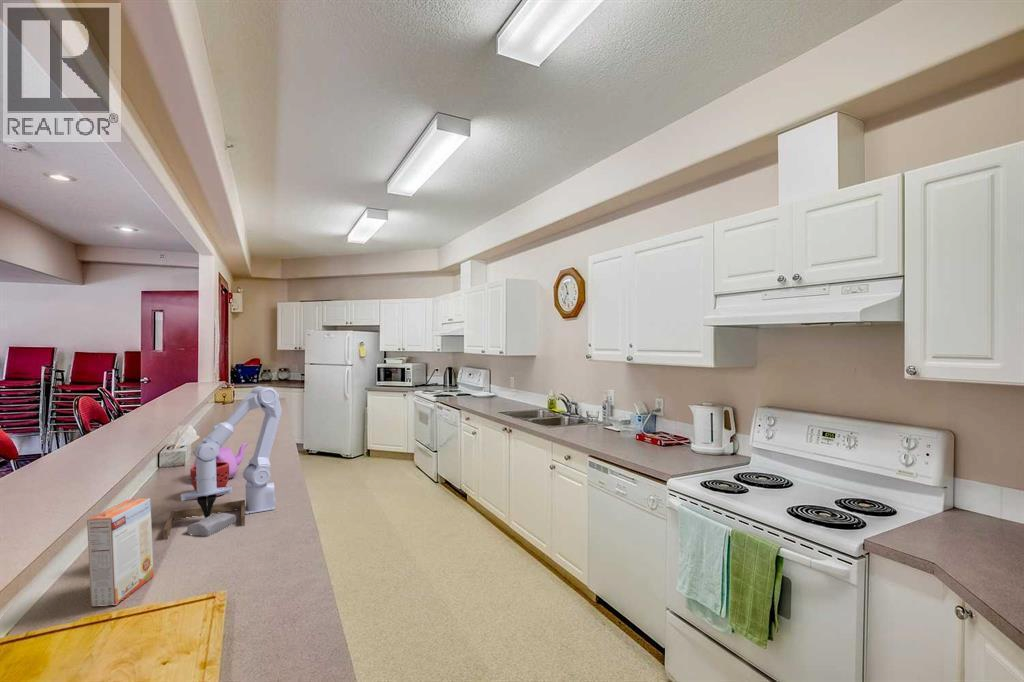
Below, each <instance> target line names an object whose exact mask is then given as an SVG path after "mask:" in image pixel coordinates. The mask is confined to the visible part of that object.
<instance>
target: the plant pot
mask: <svg viewBox="0 0 1024 682" xmlns="http://www.w3.org/2000/svg"><path fill="white" fill-rule="evenodd" d="M193 466H194V465H193ZM193 466H192V467H191V468H190V469H189V472H190V481H191V483H192V488H193V489H194V491H197V480H196V479H195V477H196V466H194V467H193ZM216 479H217V488H221V487H227V484H228V483H229V480H230V479H229V463H228V462H216ZM222 495H224V494H222ZM222 495H221V496H222ZM217 496H218V497H221V496H220V495H216V498H217ZM207 498H208V497H207Z"/></svg>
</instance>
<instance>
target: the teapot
mask: <svg viewBox="0 0 1024 682" xmlns="http://www.w3.org/2000/svg"><path fill="white" fill-rule="evenodd" d="M250 443H251V441H248V442H245V443H242V444H241V445H240V447H239V448H238V449H239V451H238V454H237V455H236V456H235V454H234V453H233V450H232V449H231V448H230V447H228V446H221V448H219V453H218V455H217V456H216V462H228V463H229V478H230V479H231V478H234V477H235V476H236V474H237V472H238V467H239V465H241V463H242V462H243V460H244V456H245V449H246V447H247V446H248V445H249V444H250ZM196 458H197V457H196V456H195V459H194V462H193V466H192V467H194V466H196ZM195 480H196V477H195Z"/></svg>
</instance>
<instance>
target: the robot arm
mask: <svg viewBox="0 0 1024 682" xmlns="http://www.w3.org/2000/svg"><path fill="white" fill-rule="evenodd" d="M257 408H258V409H259V408H261V409H262V411H263V412H264V417H263V420H262V424H261V428H260V431H259V435H258V438H257V442H256V445H255V450H254V453H253V456H252V458H250V459H249V461H248V464H247V466H246V467H245V468H244V470H243V472H242V477H243V479H244V480H245V481H246V483H245V515H249V513H250V514H254V513H261V512H267V511H273V510H275V509H276V506H275V505H276V501H277V500H276V496H275V495H276V493H275V492H276V491H275V482H269V481H270V479H271V471H270V470H271V462H270V457H271V452H272V449H273V445H274V442H275V439H276V436H277V435H276V434H277V432H278V427H279V423H280V419H281V417H282V412H283V409H282V406H281V402H280V395H279V393H278V392H277V390H276V389H274V388H272V387H266V386H262V385H258V386H255V387H253V388H252V389H251V391H250V392H248V393H247V394H246V395H245V397H244V398H243V399H242V401H240V403H239V404H238V405H237V407H236V408H235V409H234V411H233V412H231V414H230V415H229V417H228V418H227V419H226V420H225V421H223V422H219V423H218V424H217V425H216V424H214V425H213V426H212V430H211V431H210V433H209V434H208V435H207V436H205V437H203V438H202V441H201V442H199V443H197V444H196V445H195V447H194V450H193V451H192V455H193V456H194V457H195V459H196V479H195V480H196V481H197V491H195V490H194V491H189V492H188V491H187V492H185V493H181V494H180V501H181V502H184V501H186V500H193V499H197V500H196V501H197V503H198V505H199V507H201V508H202V511H203V513H204V518H206V517H208V516H211V514H210V513H211V509H212V506H213V505H214V504H215V501H216V499H217V497H216V495H221V496H222V494H223V495H226V494H227V495H230V494H232V493H233V488H232V486H226V487H221V488H217V479H216V456H217V455H218V453H219V448H221V447H223V446H224V444H225V443H227V441H228V439H230V437H231V436H232V435H234V432H235V431H234V428H235V426H236V425H238V424H239V423H240V421H241V420H243V418H244V417H245V416H246V415H247V414H248V413H249V412H250V411H251V410H254V409H257ZM196 457H197V458H196ZM207 497H208V498H207ZM207 506H208V511H207Z"/></svg>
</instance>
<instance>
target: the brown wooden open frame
mask: <svg viewBox="0 0 1024 682" xmlns="http://www.w3.org/2000/svg"><path fill="white" fill-rule="evenodd" d="M245 506H246V499H241V500H233V501H228V502H222V503H217V504H216V503H214V504H213V506H212V509H211V513H210V515H213V514H212V513H216V514H219V513H218V512H222V513H226V512H225V511H228V512H230V511H229V510H235V509H241V510H240V511H241V512H240V513H241V514H240V526H241V525H244V526H245V525H246V522H245V521H246V514H245ZM207 511H208V506H207ZM235 511H236V510H235ZM199 515H204V513H203V511H202V508H201V507H200V506H197V507H195V506H194V507H189V508H188V507H187V508H182V509H177V510H171V511H170V514H169V516H168V519H167V520H166V523H165V525H164V528H163V531H162V533H163V535H162V537H163V540H164V539H165V540H168V539H169V537H168V536H170V534H171V532H170V531H172V529H173V527H172V526H174V523H175V522H174V521H177V520H176V519H179V520H182V519H181V518H185V519H187V518H186V517H191V518H193V517H192V516H198V517H200V516H199Z"/></svg>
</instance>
